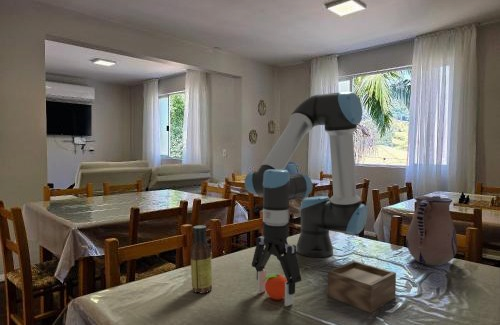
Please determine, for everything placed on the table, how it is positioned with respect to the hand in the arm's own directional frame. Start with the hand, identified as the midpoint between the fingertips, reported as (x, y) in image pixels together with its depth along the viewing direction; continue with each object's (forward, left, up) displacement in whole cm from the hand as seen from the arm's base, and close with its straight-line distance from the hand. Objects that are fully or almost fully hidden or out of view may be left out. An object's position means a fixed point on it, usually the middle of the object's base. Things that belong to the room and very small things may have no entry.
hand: (274, 297), depth 102 cm
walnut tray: (+16, +20, 0) cm, 26 cm away
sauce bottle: (-19, -13, 0) cm, 23 cm away
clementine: (0, 0, 0) cm, 0 cm away
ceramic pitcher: (+17, +66, 0) cm, 68 cm away
